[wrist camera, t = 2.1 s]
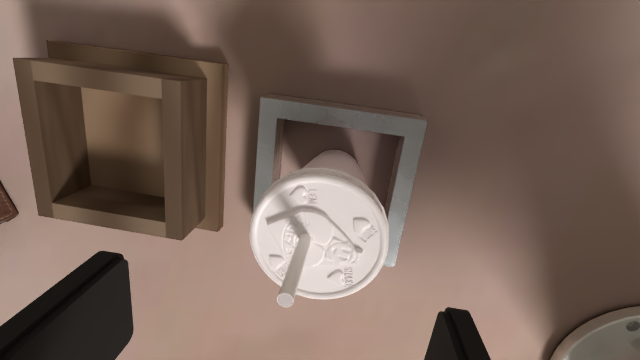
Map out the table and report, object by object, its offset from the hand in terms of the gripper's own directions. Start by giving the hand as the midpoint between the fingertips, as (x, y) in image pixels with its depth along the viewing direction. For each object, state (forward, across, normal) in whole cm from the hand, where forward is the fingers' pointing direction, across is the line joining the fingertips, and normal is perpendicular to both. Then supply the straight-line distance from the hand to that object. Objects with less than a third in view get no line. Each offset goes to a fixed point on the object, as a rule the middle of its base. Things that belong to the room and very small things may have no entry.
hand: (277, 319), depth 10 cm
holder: (+15, -1, 0) cm, 15 cm away
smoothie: (+15, -1, 0) cm, 15 cm away
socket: (+15, +13, 0) cm, 20 cm away
